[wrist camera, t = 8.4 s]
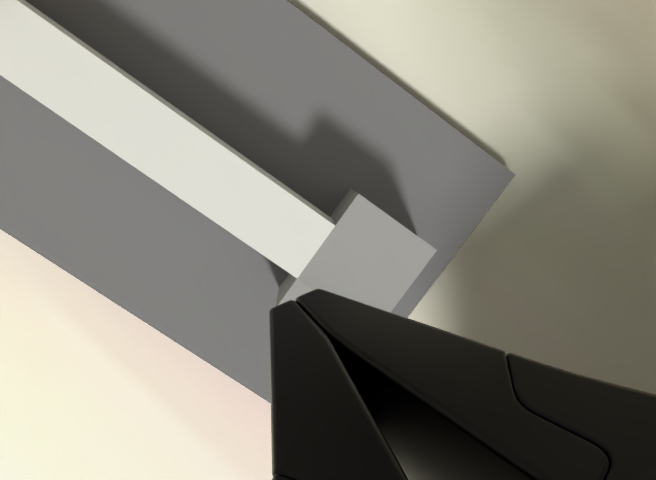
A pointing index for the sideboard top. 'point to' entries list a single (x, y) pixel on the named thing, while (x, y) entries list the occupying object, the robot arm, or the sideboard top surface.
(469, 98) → the sideboard top surface
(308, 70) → the grey board
